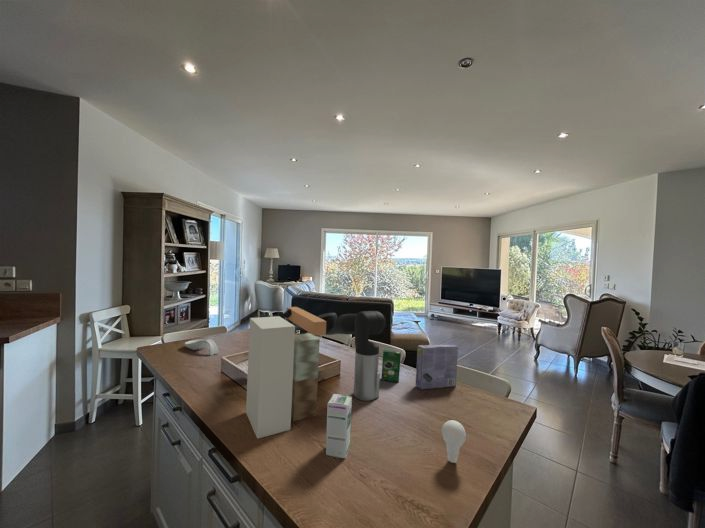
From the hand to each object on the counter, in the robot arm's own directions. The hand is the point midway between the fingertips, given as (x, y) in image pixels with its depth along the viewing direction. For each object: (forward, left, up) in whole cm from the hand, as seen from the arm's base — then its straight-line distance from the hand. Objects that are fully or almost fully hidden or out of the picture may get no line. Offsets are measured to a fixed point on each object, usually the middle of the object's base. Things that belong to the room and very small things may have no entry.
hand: (296, 311), depth 106 cm
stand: (+9, +11, -33) cm, 36 cm away
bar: (-2, +7, -3) cm, 8 cm away
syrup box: (-10, +30, -34) cm, 46 cm away
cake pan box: (-62, -3, -34) cm, 71 cm away
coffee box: (-44, -12, -34) cm, 57 cm away
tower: (-2, +8, -33) cm, 34 cm away
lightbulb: (-39, +41, -34) cm, 66 cm away
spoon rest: (+43, -67, -34) cm, 87 cm away
